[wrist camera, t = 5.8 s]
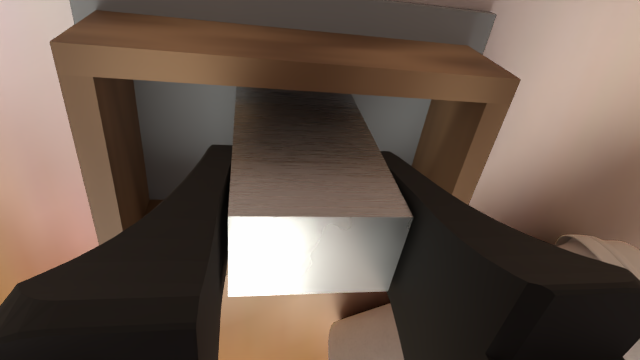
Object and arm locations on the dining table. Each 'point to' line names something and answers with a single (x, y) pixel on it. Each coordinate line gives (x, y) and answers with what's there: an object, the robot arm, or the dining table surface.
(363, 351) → the coffee cup
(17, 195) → the dining table surface
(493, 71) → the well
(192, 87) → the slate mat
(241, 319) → the dining table surface
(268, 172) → the brushed aluminum block
